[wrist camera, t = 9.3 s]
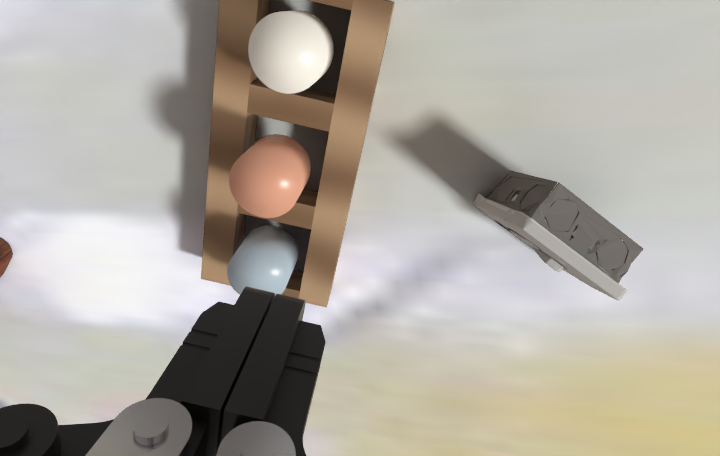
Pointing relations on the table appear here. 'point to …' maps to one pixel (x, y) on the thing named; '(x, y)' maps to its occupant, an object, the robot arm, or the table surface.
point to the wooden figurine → (4, 255)
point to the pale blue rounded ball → (263, 260)
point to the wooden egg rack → (307, 108)
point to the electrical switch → (562, 230)
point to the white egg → (290, 50)
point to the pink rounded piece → (270, 176)
